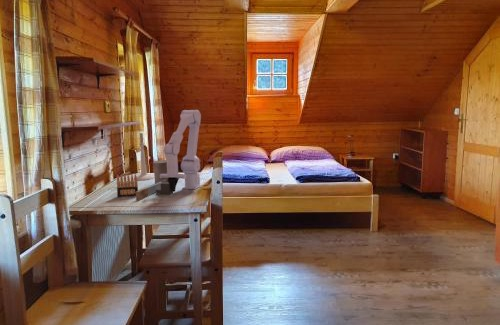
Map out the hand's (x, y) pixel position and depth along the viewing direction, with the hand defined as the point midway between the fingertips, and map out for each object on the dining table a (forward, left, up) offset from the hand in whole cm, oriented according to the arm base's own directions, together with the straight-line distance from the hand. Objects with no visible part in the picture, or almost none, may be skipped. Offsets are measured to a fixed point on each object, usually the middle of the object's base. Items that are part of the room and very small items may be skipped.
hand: (173, 191), depth 203 cm
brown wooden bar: (0, -12, -1) cm, 12 cm away
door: (-2, -12, -1) cm, 12 cm away
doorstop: (0, -6, -2) cm, 6 cm away
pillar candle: (-23, -19, -2) cm, 30 cm away
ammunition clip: (+9, -22, -2) cm, 24 cm away
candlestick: (-35, -39, -2) cm, 53 cm away
